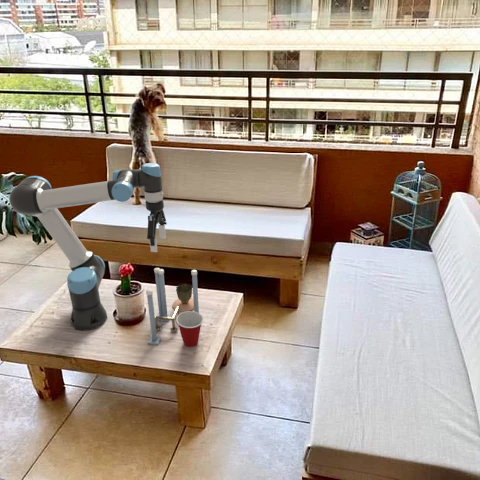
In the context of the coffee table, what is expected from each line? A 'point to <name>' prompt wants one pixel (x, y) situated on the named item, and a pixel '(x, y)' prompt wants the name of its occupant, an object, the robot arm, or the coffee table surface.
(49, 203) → the robot arm
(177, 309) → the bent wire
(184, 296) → the ornate lamp shade
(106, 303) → the coffee table surface
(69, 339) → the coffee table surface
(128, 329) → the coffee table surface
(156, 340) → the gate
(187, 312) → the plastic cup
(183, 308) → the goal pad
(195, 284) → the gate
